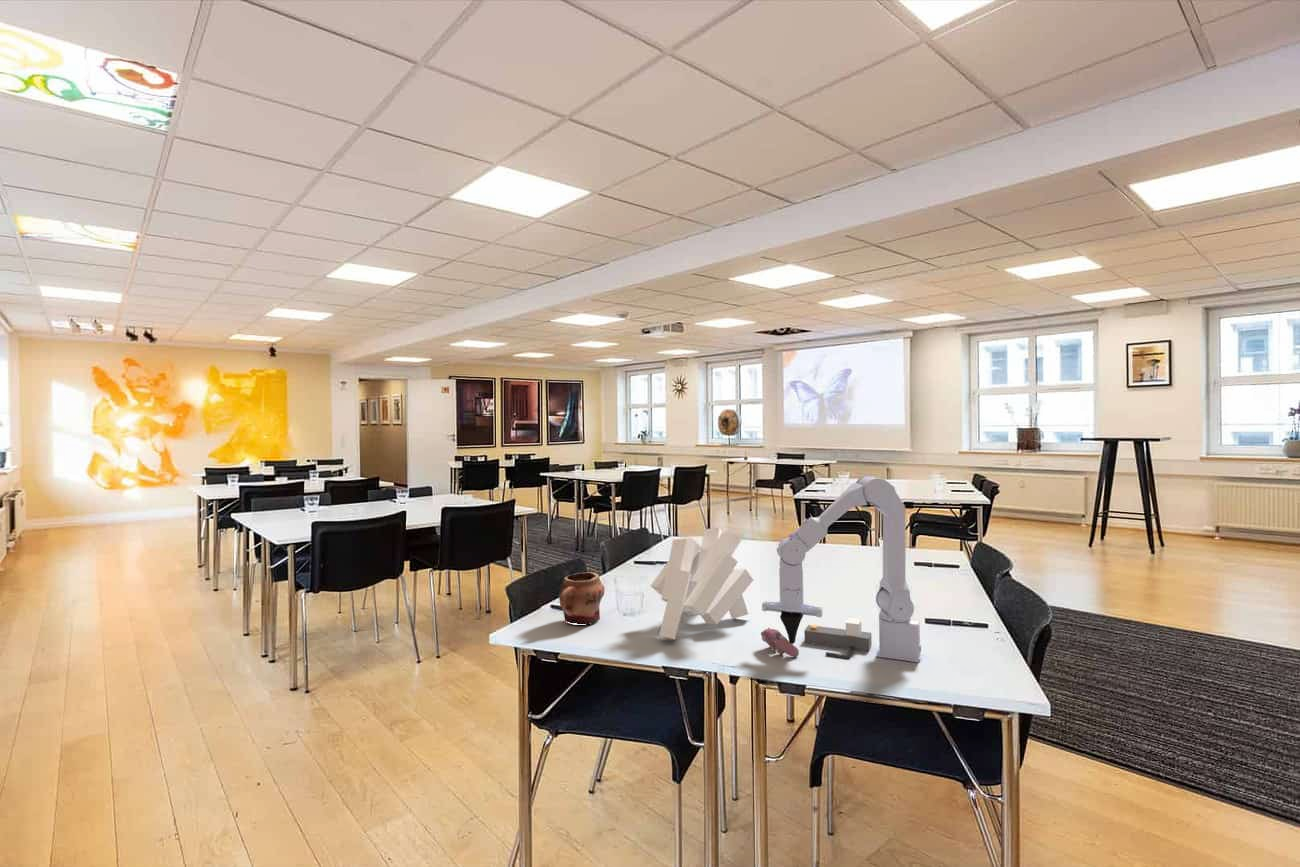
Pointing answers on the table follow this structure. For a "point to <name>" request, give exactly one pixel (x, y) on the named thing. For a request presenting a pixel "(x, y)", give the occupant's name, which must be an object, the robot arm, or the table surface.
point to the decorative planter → (581, 597)
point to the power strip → (840, 637)
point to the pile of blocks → (702, 581)
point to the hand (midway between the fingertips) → (792, 642)
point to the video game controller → (778, 642)
